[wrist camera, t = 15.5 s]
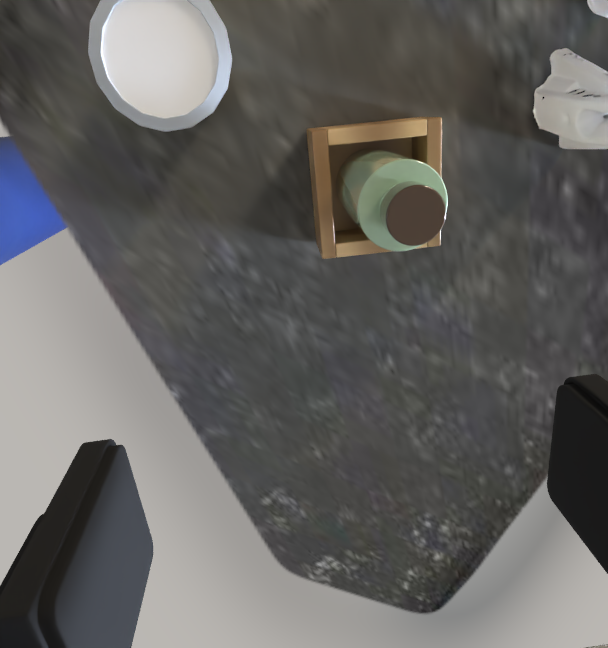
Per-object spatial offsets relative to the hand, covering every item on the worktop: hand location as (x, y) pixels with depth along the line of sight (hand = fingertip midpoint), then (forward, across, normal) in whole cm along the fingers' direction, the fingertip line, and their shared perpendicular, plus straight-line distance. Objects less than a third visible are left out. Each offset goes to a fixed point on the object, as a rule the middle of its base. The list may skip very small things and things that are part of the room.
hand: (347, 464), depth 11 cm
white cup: (+26, +5, -10) cm, 29 cm away
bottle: (+25, -6, -2) cm, 26 cm away
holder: (+26, -6, -2) cm, 27 cm away
